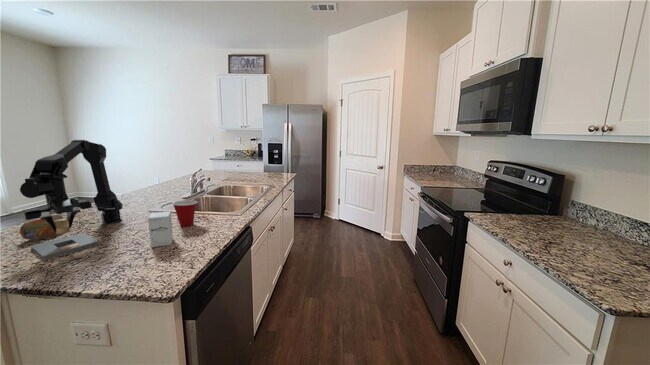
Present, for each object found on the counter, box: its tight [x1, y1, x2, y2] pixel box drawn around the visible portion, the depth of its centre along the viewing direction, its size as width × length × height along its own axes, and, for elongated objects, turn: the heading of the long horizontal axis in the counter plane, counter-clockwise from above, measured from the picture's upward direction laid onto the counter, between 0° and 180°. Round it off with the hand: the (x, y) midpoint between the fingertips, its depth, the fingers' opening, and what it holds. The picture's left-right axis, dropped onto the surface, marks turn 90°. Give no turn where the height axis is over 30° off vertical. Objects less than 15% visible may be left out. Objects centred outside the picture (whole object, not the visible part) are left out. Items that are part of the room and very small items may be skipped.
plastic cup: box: [172, 200, 198, 228], centre depth 131 cm, size 11×11×12 cm
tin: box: [19, 214, 65, 241], centre depth 116 cm, size 15×3×8 cm, turn 168°
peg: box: [54, 218, 71, 235], centre depth 104 cm, size 4×4×5 cm
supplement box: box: [147, 211, 174, 248], centre depth 110 cm, size 7×7×13 cm
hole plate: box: [30, 232, 100, 261], centre depth 106 cm, size 16×16×2 cm
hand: (62, 229), depth 105 cm, fingers closed on peg, 4 cm apart
